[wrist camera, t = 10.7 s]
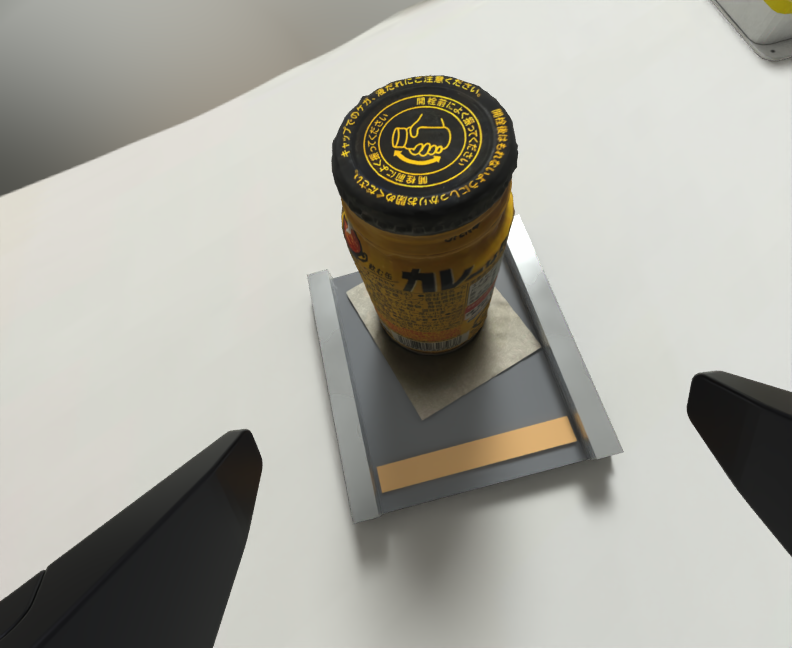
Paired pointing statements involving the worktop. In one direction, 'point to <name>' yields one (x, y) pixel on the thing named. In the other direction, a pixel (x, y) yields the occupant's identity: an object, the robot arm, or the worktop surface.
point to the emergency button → (762, 25)
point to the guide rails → (552, 337)
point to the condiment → (431, 233)
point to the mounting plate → (458, 418)
